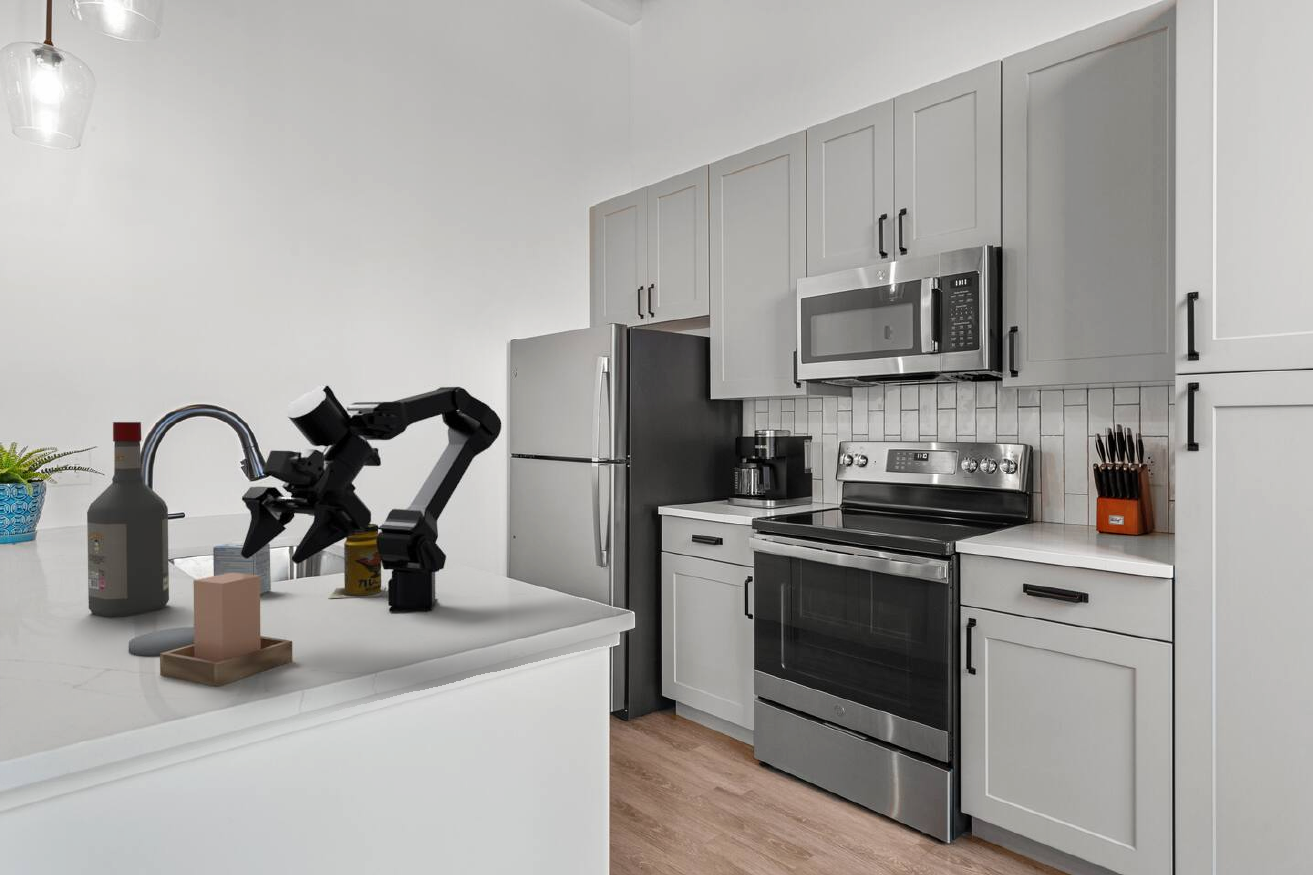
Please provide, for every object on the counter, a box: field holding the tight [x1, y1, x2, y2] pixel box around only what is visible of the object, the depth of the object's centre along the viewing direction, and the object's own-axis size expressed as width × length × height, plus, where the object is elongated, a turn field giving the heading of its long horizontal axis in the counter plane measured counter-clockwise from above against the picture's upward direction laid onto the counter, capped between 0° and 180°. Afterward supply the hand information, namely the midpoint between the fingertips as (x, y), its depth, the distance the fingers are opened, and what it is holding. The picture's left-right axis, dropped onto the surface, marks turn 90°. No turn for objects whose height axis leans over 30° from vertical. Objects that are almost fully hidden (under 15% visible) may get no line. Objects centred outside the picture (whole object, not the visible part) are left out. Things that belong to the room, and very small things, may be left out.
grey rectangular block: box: [212, 542, 272, 596], centre depth 132 cm, size 8×4×9 cm, turn 84°
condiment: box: [328, 523, 386, 599], centre depth 132 cm, size 7×8×12 cm
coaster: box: [128, 626, 194, 656], centre depth 101 cm, size 10×10×1 cm
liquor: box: [86, 421, 170, 618], centre depth 120 cm, size 9×9×30 cm
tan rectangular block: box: [193, 573, 261, 662], centre depth 92 cm, size 5×5×11 cm
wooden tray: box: [159, 635, 293, 687], centre depth 92 cm, size 10×10×2 cm
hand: (268, 559), depth 97 cm, fingers open, 9 cm apart
